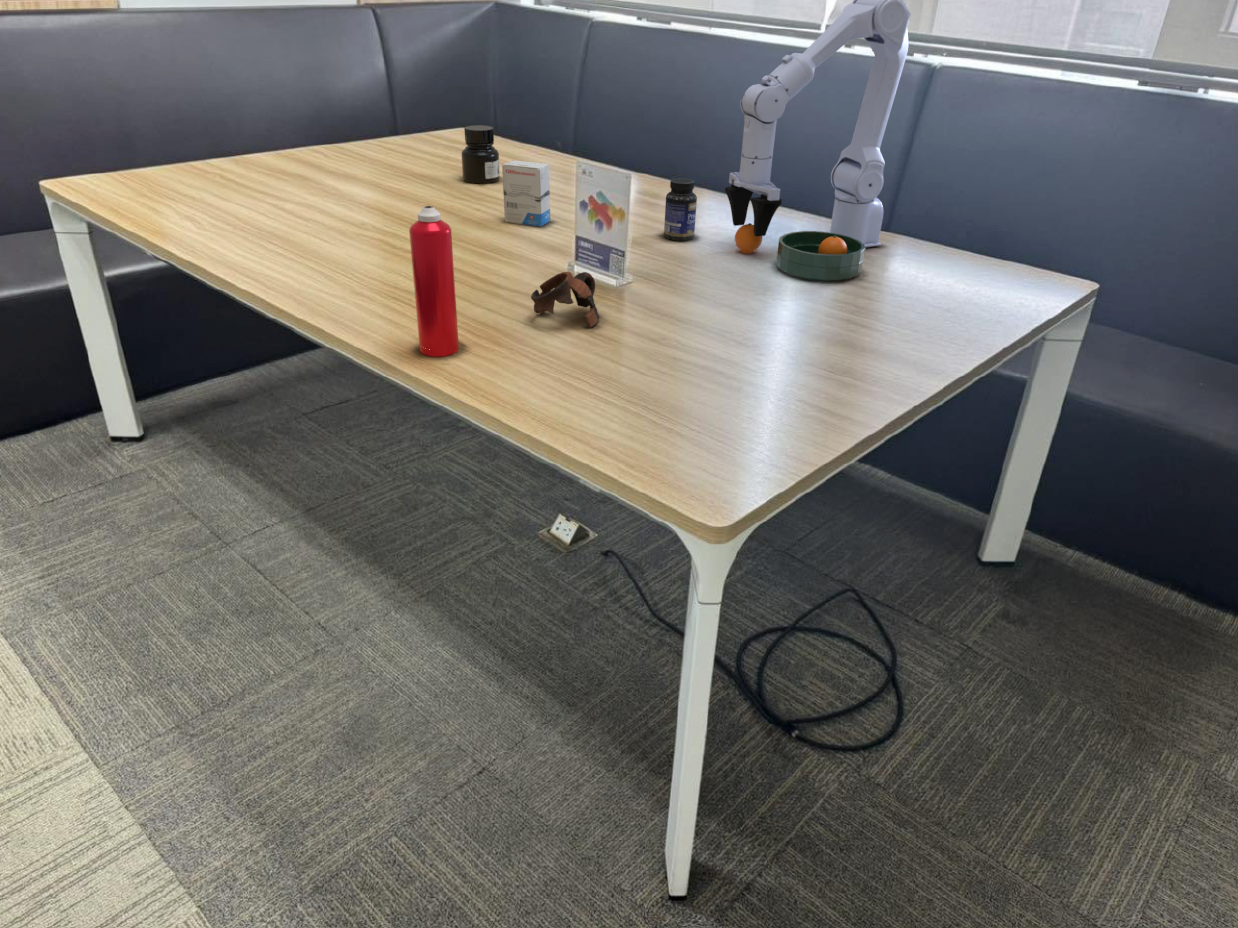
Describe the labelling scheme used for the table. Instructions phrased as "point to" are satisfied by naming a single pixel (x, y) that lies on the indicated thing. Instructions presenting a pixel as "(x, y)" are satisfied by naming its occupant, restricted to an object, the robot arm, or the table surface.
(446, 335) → the bottle
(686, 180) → the pill bottle
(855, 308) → the table surface
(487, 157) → the ink bottle
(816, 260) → the bowl
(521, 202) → the ink box
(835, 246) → the clementine
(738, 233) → the clementine
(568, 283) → the brown curved broken pieces
